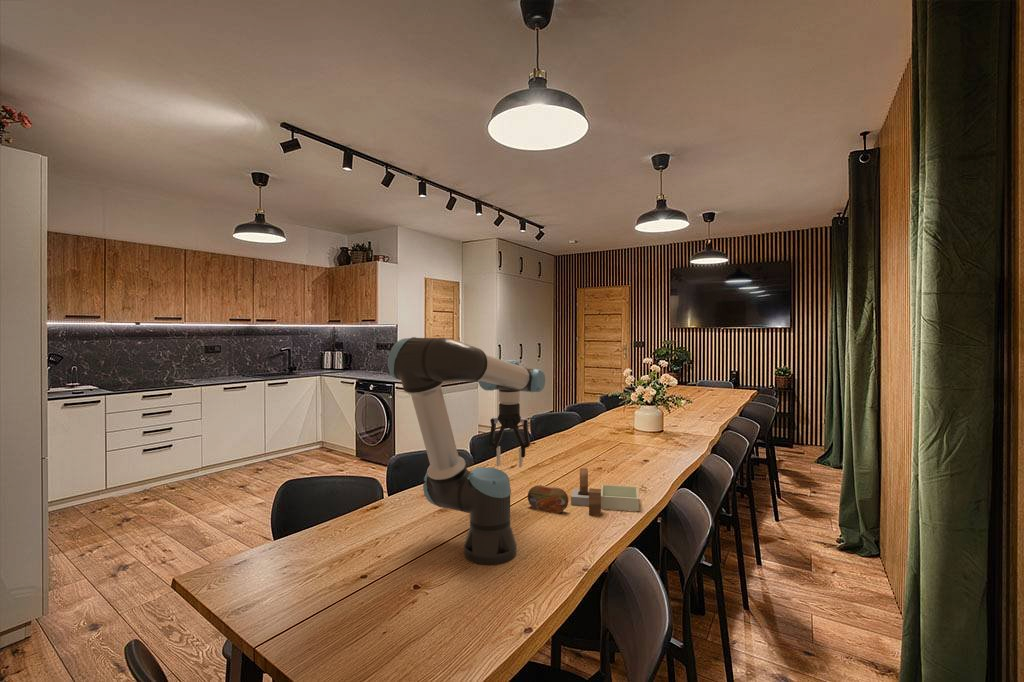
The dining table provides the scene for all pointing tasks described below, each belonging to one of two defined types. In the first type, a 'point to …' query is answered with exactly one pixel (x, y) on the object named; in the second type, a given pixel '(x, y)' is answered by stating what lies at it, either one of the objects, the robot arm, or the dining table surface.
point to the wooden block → (594, 501)
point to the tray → (619, 498)
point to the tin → (548, 498)
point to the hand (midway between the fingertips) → (509, 465)
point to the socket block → (579, 498)
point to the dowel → (583, 481)
